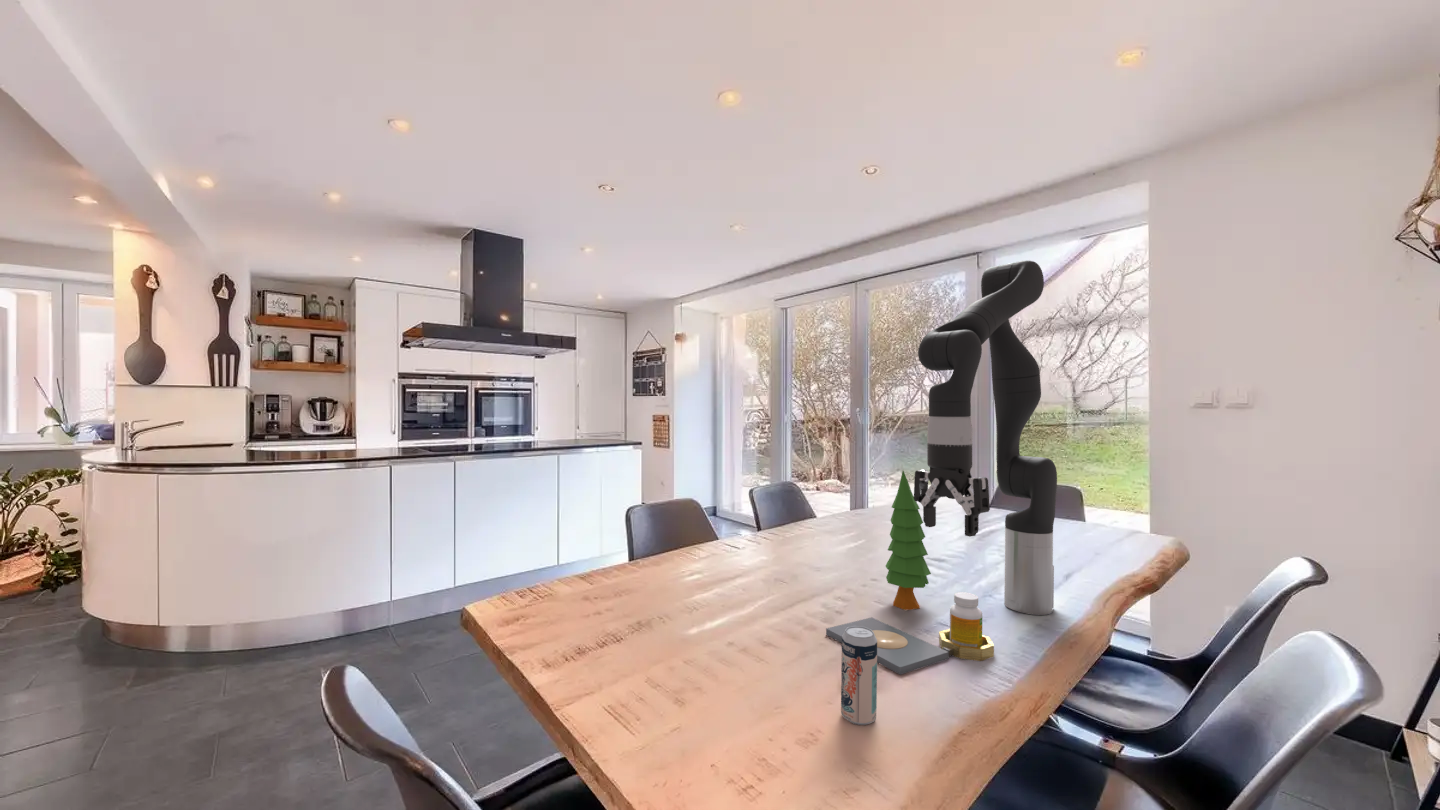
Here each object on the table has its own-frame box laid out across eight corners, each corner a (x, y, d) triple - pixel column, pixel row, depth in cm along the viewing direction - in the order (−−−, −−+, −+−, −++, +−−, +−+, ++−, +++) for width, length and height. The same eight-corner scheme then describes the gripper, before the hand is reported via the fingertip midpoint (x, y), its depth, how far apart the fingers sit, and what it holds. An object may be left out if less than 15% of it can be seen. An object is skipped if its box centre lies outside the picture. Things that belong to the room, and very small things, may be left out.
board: (871, 623, 111) (871, 616, 111) (948, 658, 96) (948, 651, 96) (826, 634, 105) (826, 627, 105) (900, 674, 90) (900, 666, 90)
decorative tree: (876, 603, 123) (877, 468, 123) (899, 594, 129) (900, 466, 129) (916, 616, 115) (918, 472, 116) (939, 606, 121) (940, 469, 122)
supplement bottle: (985, 657, 96) (986, 602, 96) (952, 654, 97) (953, 599, 97) (977, 644, 102) (978, 592, 102) (946, 642, 103) (947, 589, 103)
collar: (964, 634, 106) (964, 624, 106) (1006, 652, 98) (1006, 641, 98) (925, 646, 100) (925, 635, 100) (967, 666, 93) (967, 654, 93)
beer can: (836, 709, 79) (837, 625, 79) (869, 708, 79) (870, 624, 80) (847, 728, 74) (848, 639, 74) (881, 727, 75) (882, 638, 75)
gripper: (999, 443, 95) (999, 536, 96) (931, 438, 108) (931, 521, 108) (970, 445, 92) (971, 542, 92) (904, 440, 104) (904, 525, 104)
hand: (949, 530), depth 100 cm, fingers open, 8 cm apart
